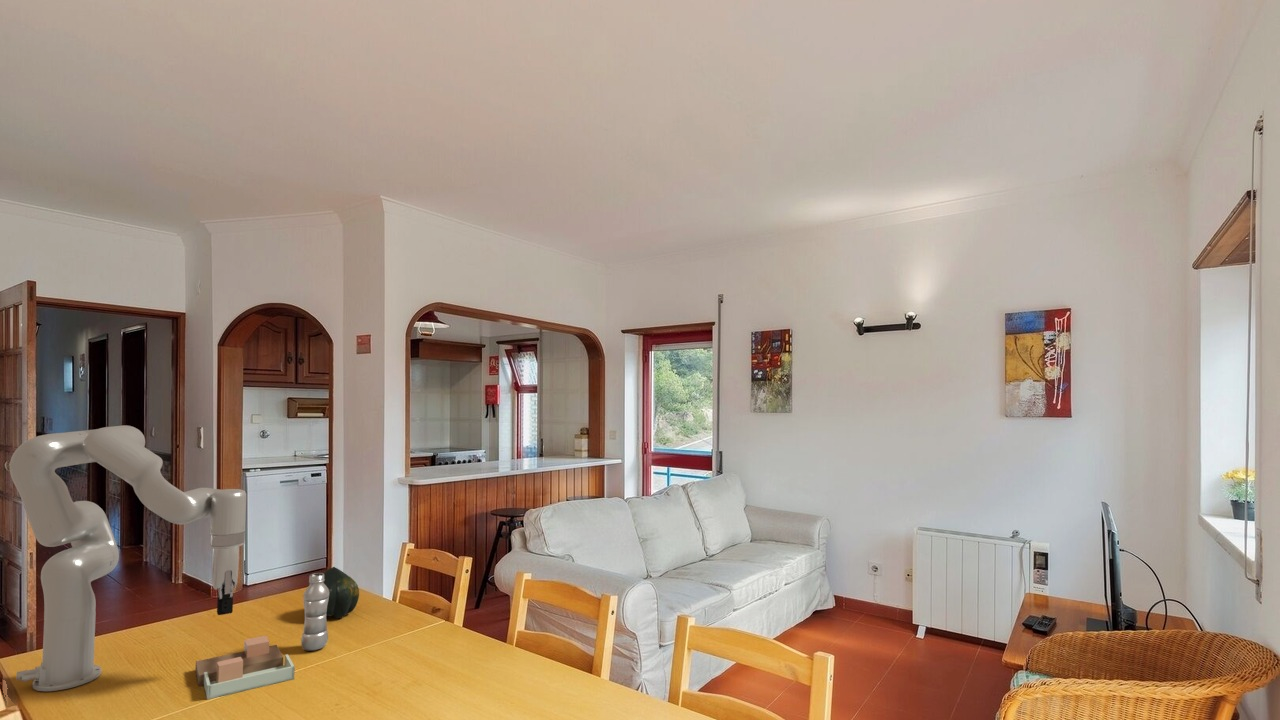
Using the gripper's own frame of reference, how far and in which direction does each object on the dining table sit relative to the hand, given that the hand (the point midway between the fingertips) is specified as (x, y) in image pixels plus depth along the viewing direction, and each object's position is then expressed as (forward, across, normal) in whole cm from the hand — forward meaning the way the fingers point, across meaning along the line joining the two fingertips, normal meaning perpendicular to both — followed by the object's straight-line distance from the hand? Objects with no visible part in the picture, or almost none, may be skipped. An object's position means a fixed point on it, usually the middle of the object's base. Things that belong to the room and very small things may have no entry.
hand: (224, 613), depth 165 cm
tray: (+15, +9, +5) cm, 18 cm away
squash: (+15, -29, +31) cm, 45 cm away
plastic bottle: (+15, -4, +22) cm, 27 cm away
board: (+15, 0, +4) cm, 15 cm away
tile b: (+12, -3, +8) cm, 15 cm away
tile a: (+12, +6, +1) cm, 13 cm away
